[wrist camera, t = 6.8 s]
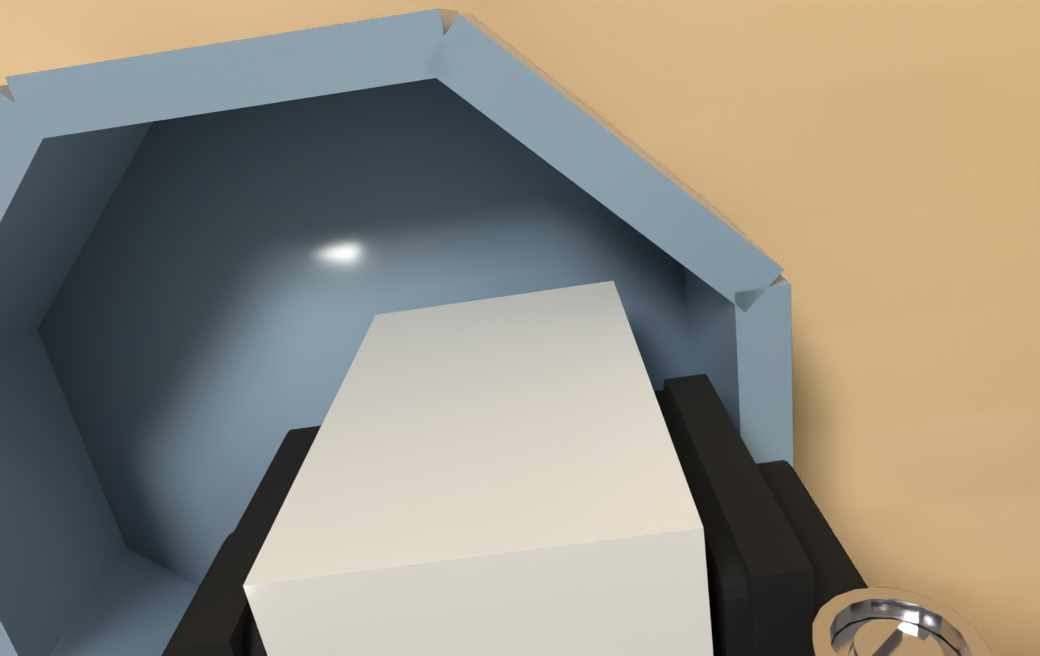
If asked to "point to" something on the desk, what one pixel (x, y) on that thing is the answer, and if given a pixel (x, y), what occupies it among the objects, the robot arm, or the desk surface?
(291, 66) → the bowl
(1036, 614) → the desk surface
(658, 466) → the white block
